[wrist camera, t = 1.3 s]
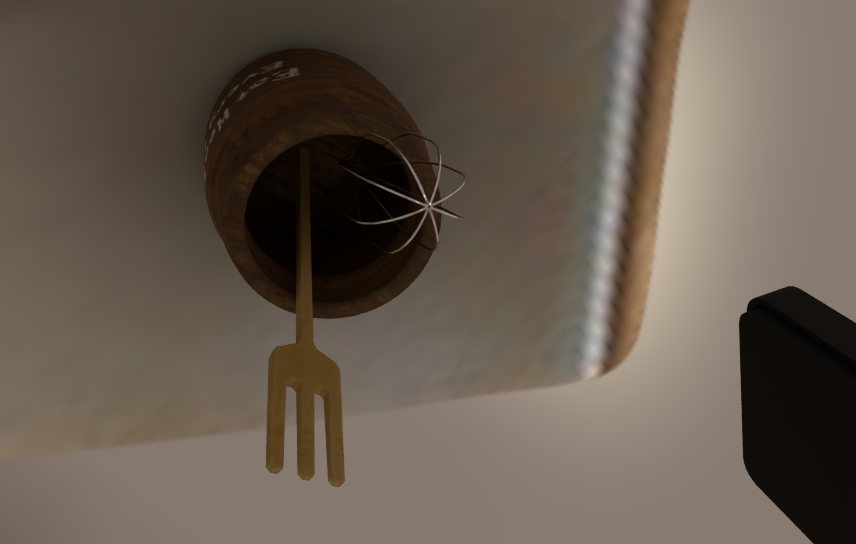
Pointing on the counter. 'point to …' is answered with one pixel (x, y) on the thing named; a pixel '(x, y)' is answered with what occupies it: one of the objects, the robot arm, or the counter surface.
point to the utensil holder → (318, 215)
